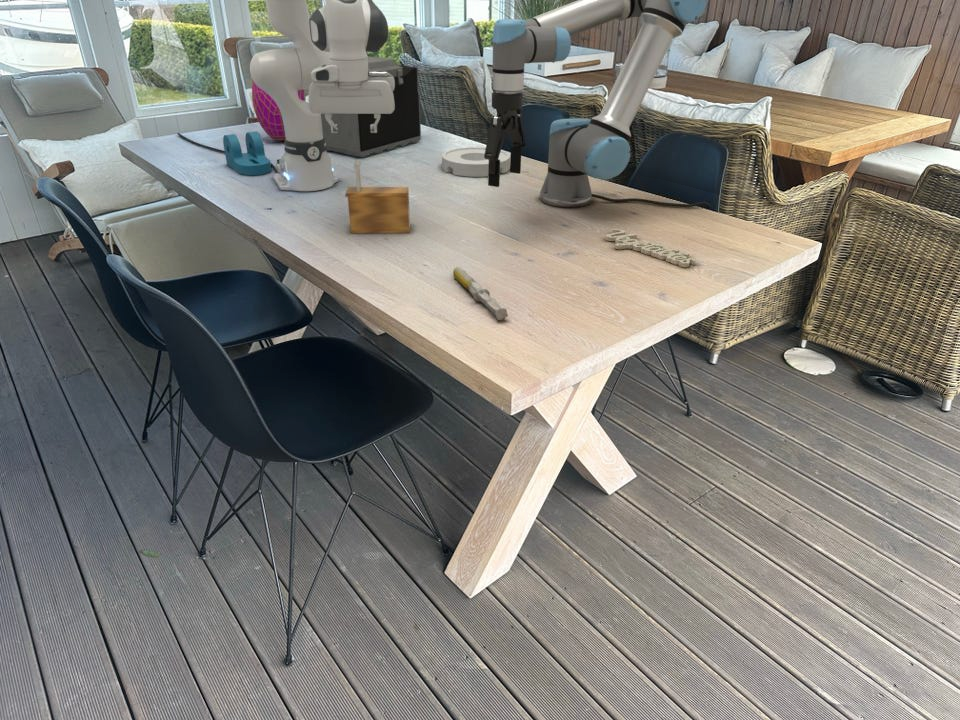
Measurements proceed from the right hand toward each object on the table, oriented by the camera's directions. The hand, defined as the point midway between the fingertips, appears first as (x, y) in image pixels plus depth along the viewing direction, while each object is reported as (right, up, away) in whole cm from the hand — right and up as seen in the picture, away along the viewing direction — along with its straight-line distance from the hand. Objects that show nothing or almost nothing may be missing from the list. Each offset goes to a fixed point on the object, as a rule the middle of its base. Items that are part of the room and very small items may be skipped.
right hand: (504, 179), depth 175 cm
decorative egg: (-82, +39, +89) cm, 127 cm away
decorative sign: (+34, -19, -6) cm, 40 cm away
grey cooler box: (-47, +34, +83) cm, 101 cm away
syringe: (-7, -33, -30) cm, 45 cm away
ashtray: (-8, +19, +58) cm, 62 cm away
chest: (-32, -12, +5) cm, 35 cm away
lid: (-33, -4, 0) cm, 33 cm away
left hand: (-37, +9, -8) cm, 39 cm away
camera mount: (-83, +18, +54) cm, 100 cm away
